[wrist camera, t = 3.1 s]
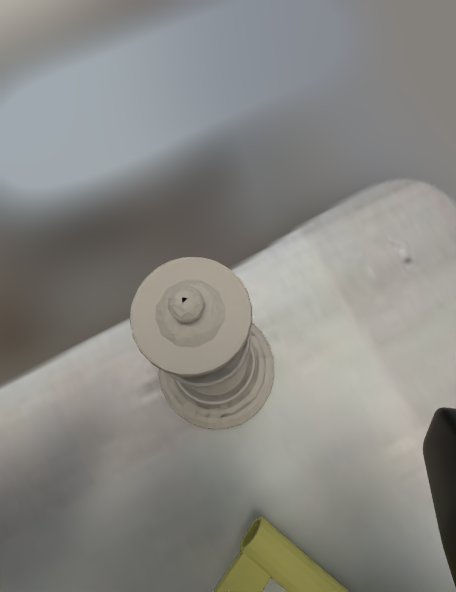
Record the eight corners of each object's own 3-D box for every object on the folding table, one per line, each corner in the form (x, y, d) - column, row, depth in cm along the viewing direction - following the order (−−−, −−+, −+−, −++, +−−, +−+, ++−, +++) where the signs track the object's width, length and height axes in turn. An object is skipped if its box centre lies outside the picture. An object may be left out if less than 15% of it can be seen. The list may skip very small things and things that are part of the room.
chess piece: (278, 325, 17) (324, 197, 7) (267, 436, 16) (304, 457, 6) (174, 312, 17) (88, 174, 8) (155, 420, 16) (22, 416, 6)
